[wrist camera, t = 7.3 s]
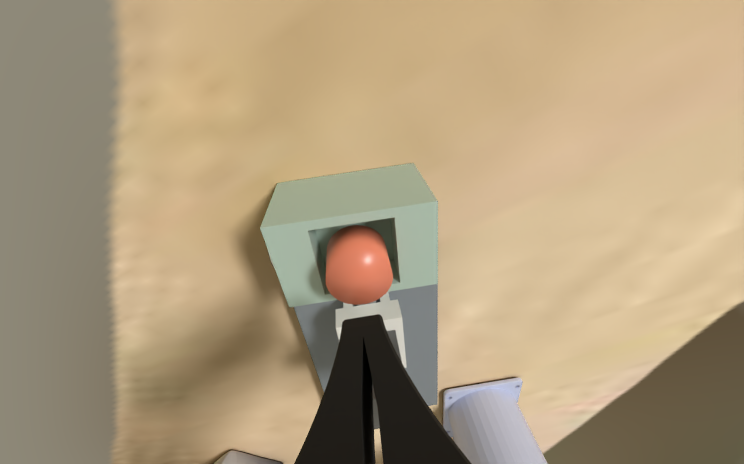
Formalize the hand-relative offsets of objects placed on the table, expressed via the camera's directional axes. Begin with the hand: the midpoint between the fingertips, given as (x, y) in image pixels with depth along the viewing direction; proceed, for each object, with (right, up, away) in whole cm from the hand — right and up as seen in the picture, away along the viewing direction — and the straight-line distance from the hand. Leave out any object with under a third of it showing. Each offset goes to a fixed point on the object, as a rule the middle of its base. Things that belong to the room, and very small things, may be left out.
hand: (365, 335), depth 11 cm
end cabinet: (-1, +5, +8) cm, 10 cm away
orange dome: (-1, +3, +4) cm, 5 cm away
